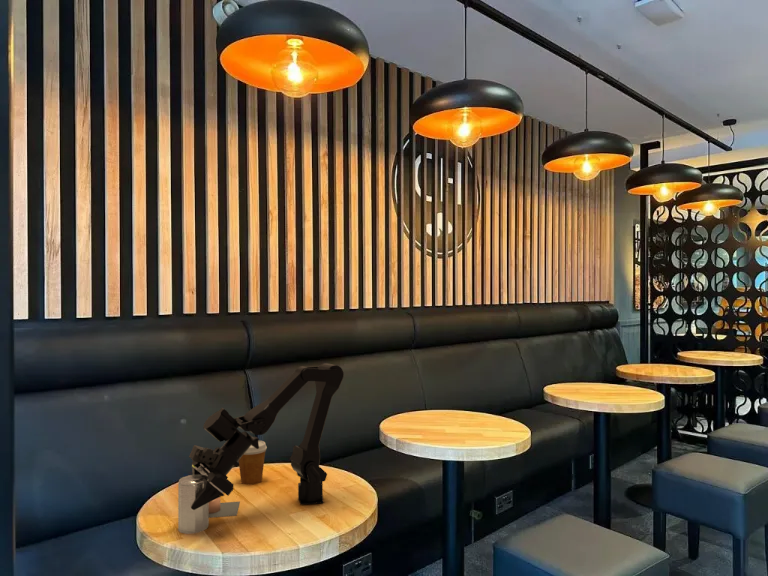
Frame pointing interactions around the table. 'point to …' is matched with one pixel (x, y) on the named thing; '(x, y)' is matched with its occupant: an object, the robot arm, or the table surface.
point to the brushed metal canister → (187, 495)
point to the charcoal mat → (226, 510)
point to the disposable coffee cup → (252, 464)
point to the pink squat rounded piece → (214, 505)
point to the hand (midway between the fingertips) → (187, 503)
